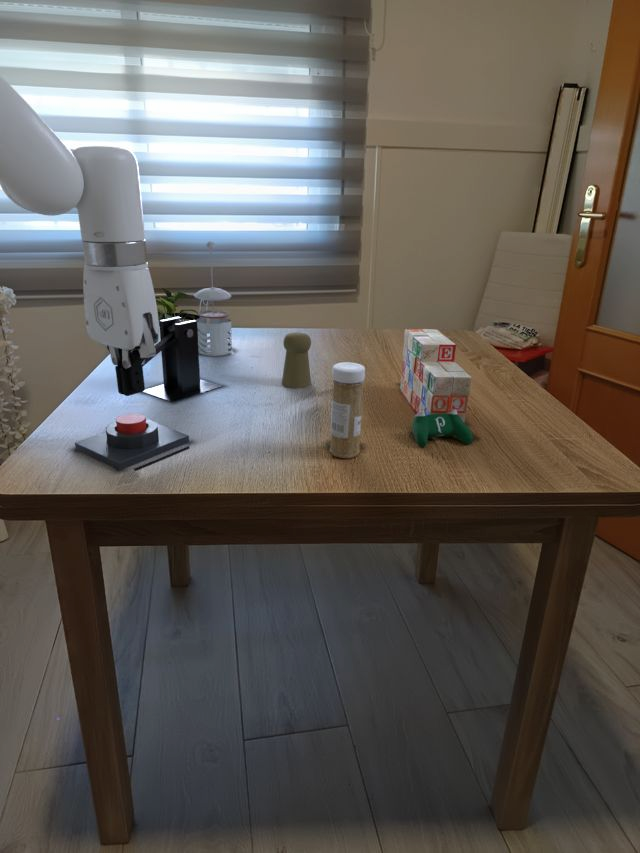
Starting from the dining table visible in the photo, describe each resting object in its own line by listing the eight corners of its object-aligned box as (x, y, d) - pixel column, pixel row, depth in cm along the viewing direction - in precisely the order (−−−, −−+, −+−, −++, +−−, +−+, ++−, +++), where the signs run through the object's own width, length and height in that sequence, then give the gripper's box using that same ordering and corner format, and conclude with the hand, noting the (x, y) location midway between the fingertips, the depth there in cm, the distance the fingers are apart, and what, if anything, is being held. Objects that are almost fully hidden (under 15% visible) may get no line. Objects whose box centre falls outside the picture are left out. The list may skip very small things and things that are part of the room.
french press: (201, 363, 125) (195, 243, 116) (184, 350, 134) (178, 238, 125) (243, 358, 130) (241, 243, 120) (224, 346, 139) (221, 238, 129)
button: (129, 437, 79) (127, 426, 78) (111, 430, 81) (109, 418, 80) (152, 429, 82) (151, 417, 81) (134, 422, 84) (133, 411, 83)
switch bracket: (173, 408, 99) (168, 330, 94) (140, 397, 104) (133, 321, 99) (223, 391, 108) (220, 319, 103) (190, 381, 113) (186, 312, 108)
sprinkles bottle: (365, 456, 84) (371, 368, 79) (338, 461, 82) (343, 372, 77) (349, 444, 88) (354, 359, 83) (323, 449, 86) (326, 363, 81)
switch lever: (133, 387, 95) (124, 372, 93) (121, 383, 97) (112, 368, 95) (193, 335, 103) (186, 320, 101) (181, 332, 104) (174, 317, 102)
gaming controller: (466, 449, 92) (458, 415, 94) (476, 440, 89) (467, 405, 91) (412, 453, 90) (405, 418, 92) (420, 444, 87) (412, 408, 89)
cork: (300, 396, 108) (302, 338, 103) (274, 390, 110) (274, 333, 106) (317, 388, 112) (319, 332, 108) (292, 382, 115) (293, 328, 111)
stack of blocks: (464, 431, 95) (474, 358, 90) (427, 431, 94) (435, 358, 89) (430, 389, 114) (437, 328, 110) (399, 389, 114) (404, 327, 109)
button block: (120, 478, 76) (117, 450, 74) (76, 456, 81) (72, 430, 79) (189, 448, 85) (188, 423, 83) (146, 431, 90) (144, 407, 88)
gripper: (55, 252, 74) (76, 388, 81) (127, 263, 65) (144, 412, 73) (106, 248, 79) (121, 375, 86) (178, 257, 71) (189, 397, 78)
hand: (132, 392), depth 79 cm, fingers closed
